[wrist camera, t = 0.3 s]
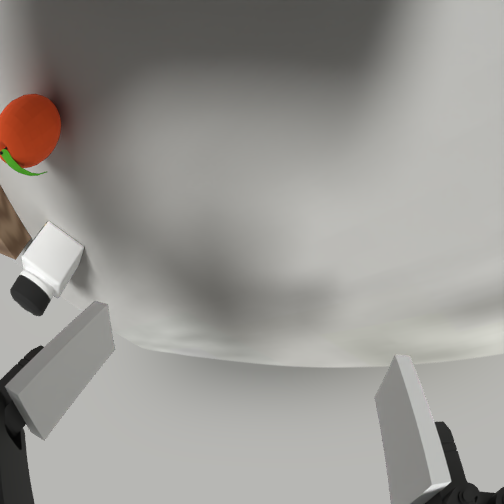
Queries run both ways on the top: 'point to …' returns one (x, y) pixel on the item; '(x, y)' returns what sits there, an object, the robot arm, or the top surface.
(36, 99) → the clementine
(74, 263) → the medicine bottle
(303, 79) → the top surface
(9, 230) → the walnut base
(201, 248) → the top surface
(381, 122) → the top surface
